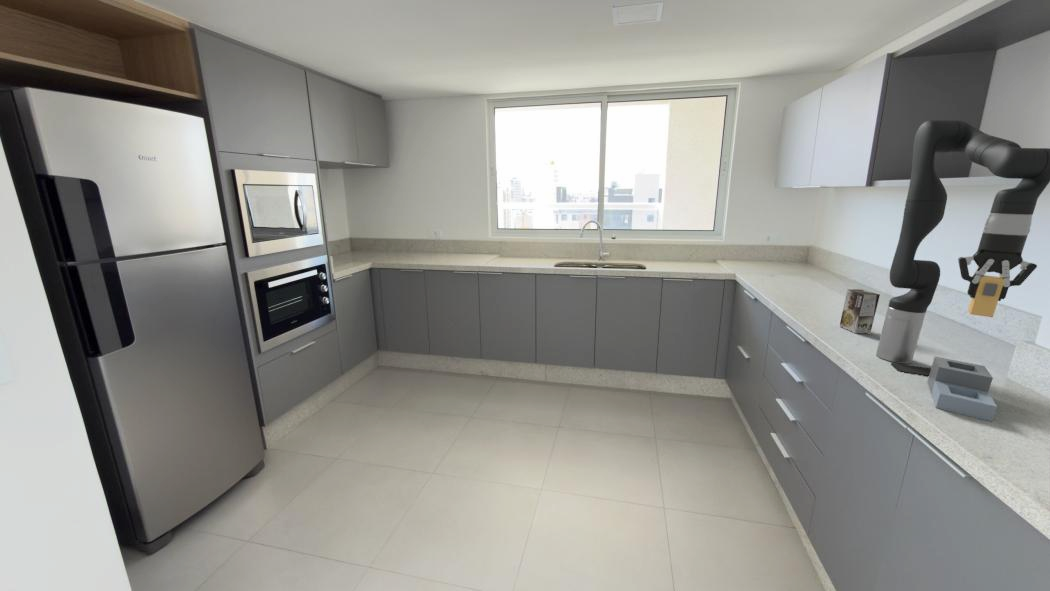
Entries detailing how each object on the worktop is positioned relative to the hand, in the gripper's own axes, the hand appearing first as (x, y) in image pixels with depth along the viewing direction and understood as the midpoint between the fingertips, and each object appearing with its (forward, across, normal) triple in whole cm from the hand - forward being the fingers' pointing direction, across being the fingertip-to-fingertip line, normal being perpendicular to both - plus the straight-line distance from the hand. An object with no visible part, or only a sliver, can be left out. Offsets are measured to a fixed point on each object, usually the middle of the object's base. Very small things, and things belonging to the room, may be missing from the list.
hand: (984, 298), depth 108 cm
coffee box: (+27, +23, -52) cm, 63 cm away
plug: (+4, 0, 0) cm, 4 cm away
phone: (+28, +5, -15) cm, 32 cm away
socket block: (+27, 0, +4) cm, 28 cm away
